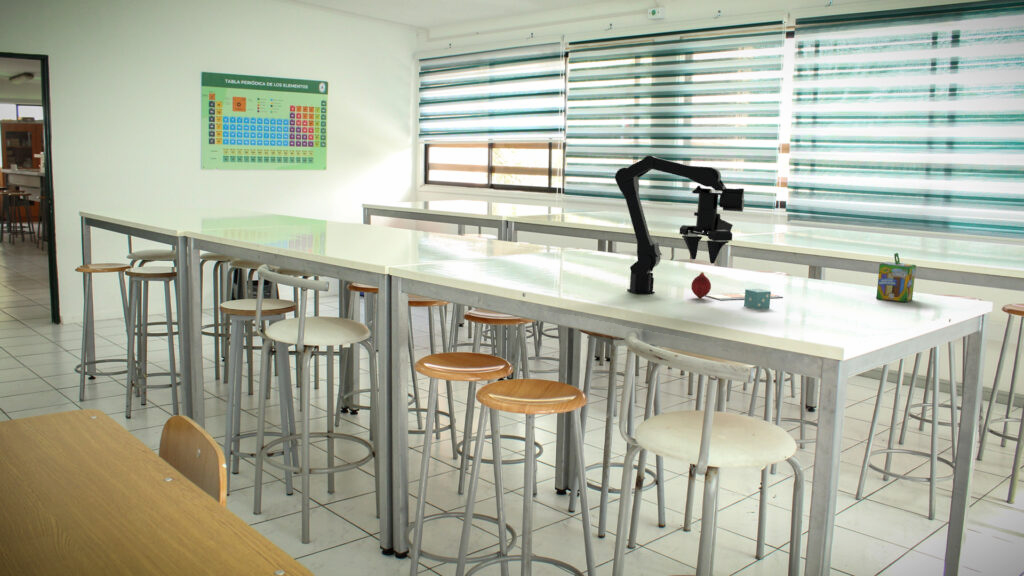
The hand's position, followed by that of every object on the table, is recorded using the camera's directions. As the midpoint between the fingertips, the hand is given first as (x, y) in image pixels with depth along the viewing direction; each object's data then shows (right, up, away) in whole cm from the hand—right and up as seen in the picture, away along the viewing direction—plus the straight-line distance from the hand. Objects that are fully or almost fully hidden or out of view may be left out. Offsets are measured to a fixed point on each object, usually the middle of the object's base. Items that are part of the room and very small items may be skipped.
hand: (702, 261), depth 239 cm
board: (+14, -11, +8) cm, 20 cm away
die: (+13, -14, -10) cm, 21 cm away
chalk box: (+65, -12, +15) cm, 68 cm away
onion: (0, -11, +2) cm, 12 cm away
